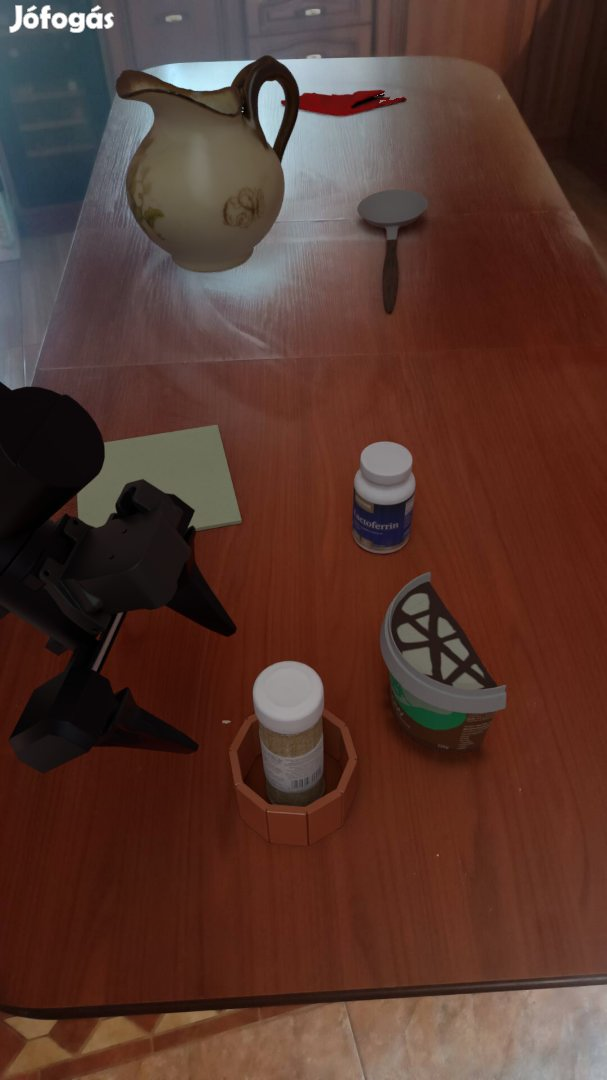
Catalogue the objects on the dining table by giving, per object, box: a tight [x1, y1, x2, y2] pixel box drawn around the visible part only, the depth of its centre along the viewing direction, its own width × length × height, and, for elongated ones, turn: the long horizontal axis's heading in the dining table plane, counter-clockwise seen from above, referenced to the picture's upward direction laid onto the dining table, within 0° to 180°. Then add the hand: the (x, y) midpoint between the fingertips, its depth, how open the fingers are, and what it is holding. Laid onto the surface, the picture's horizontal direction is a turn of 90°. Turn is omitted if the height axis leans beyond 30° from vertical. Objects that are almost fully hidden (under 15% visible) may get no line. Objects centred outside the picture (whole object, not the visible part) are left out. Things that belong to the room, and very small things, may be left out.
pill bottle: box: [351, 441, 417, 555], centre depth 75 cm, size 6×6×10 cm
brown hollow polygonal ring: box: [228, 707, 358, 847], centre depth 59 cm, size 9×9×5 cm
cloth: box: [280, 89, 408, 117], centre depth 164 cm, size 26×14×2 cm, turn 79°
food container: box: [379, 571, 507, 754], centre depth 61 cm, size 12×6×10 cm, turn 21°
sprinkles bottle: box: [252, 660, 326, 807], centre depth 55 cm, size 5×5×13 cm
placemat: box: [76, 424, 243, 532], centre depth 84 cm, size 16×16×1 cm
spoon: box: [356, 189, 429, 313], centre depth 118 cm, size 11×33×3 cm, turn 175°
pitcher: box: [115, 54, 301, 273], centre depth 112 cm, size 22×24×25 cm
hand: (214, 688), depth 53 cm, fingers open, 9 cm apart
